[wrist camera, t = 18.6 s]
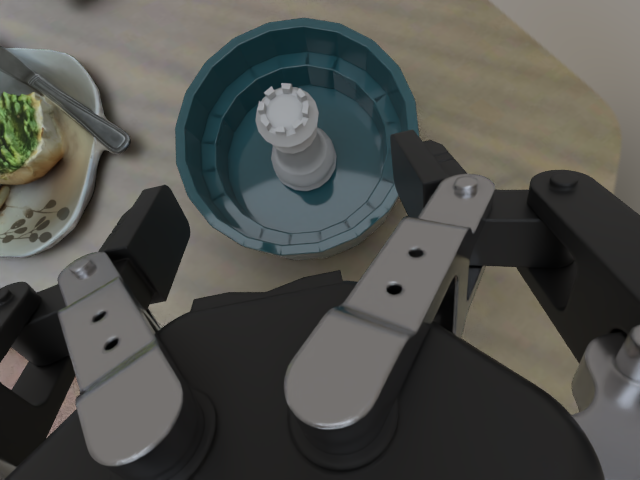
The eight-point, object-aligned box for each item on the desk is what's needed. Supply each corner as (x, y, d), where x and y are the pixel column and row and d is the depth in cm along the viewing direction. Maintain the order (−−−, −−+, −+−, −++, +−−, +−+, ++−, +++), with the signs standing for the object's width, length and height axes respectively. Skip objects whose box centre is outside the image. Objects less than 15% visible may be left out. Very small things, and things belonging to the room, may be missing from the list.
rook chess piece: (319, 120, 25) (303, 48, 17) (348, 174, 25) (345, 124, 17) (264, 150, 25) (223, 91, 18) (291, 204, 25) (262, 168, 17)
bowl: (189, 234, 26) (146, 222, 21) (240, 57, 27) (211, 2, 22) (379, 281, 24) (386, 282, 19) (423, 90, 26) (442, 39, 20)
